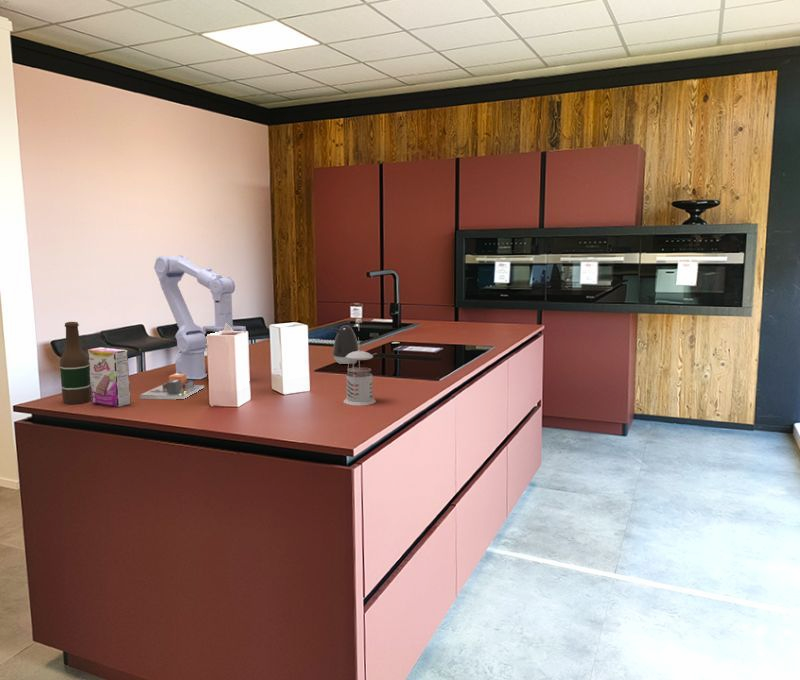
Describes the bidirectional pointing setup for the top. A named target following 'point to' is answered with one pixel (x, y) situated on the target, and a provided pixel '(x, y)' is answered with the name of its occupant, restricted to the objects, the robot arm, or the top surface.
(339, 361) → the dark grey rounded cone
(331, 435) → the top surface
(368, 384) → the french press
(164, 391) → the breaker panel
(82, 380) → the beer bottle
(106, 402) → the candy bar box
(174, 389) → the breaker
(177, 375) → the lockout cap
